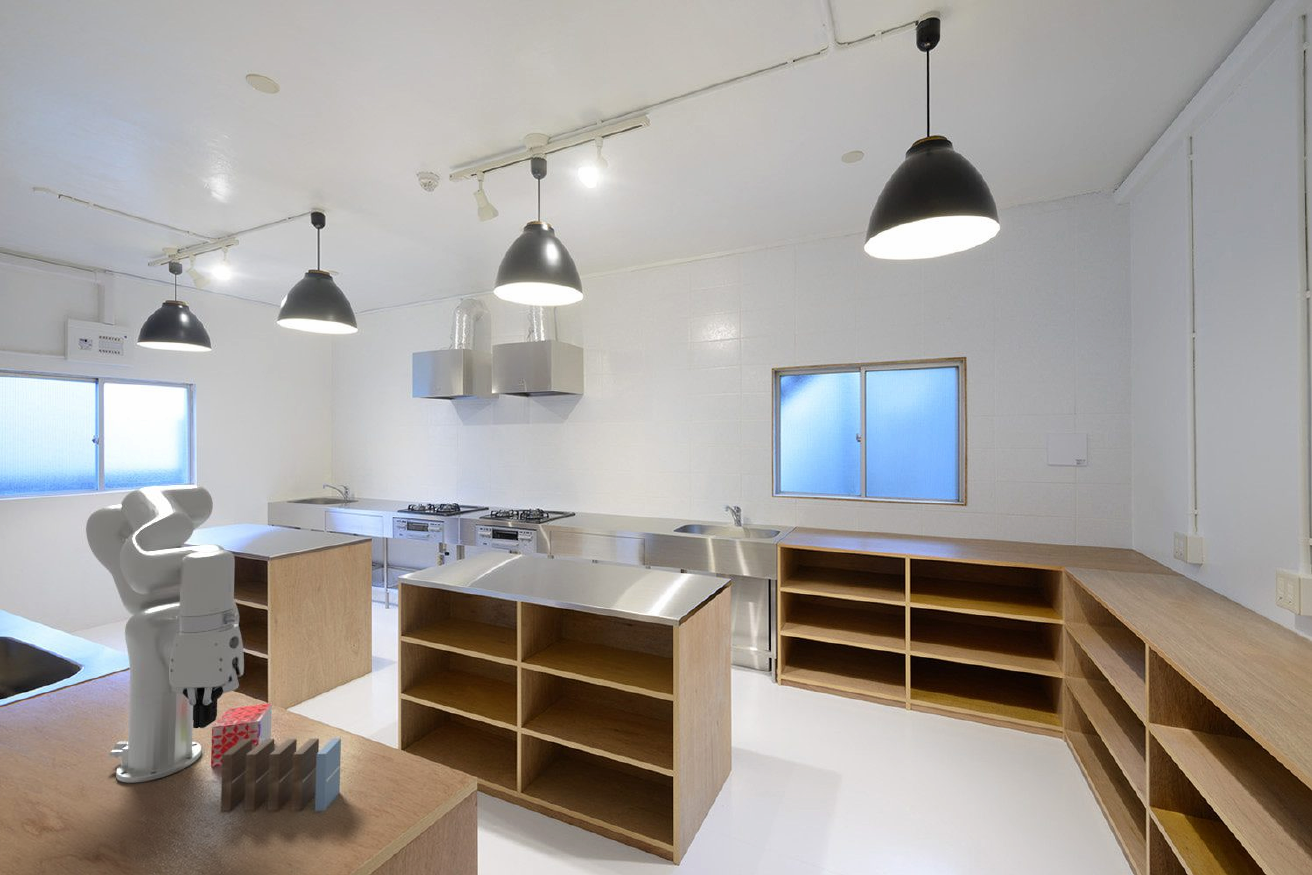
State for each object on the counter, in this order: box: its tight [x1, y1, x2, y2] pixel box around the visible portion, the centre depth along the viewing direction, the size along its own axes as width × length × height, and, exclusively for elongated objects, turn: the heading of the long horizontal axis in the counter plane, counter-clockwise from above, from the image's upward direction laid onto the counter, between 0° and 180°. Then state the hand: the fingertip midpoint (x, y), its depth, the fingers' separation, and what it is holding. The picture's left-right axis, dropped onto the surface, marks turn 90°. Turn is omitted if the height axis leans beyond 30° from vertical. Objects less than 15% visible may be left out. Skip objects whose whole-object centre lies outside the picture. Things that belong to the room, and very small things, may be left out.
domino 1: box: [220, 739, 252, 813], centre depth 97 cm, size 2×5×10 cm, turn 3°
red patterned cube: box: [210, 702, 273, 768], centre depth 112 cm, size 8×8×8 cm
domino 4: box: [291, 738, 320, 812], centre depth 97 cm, size 2×5×10 cm, turn 3°
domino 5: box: [314, 737, 342, 812], centre depth 98 cm, size 2×5×10 cm, turn 3°
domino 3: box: [267, 738, 298, 813], centre depth 97 cm, size 2×5×10 cm, turn 3°
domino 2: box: [244, 738, 275, 813], centre depth 97 cm, size 2×5×10 cm, turn 3°
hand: (204, 724), depth 96 cm, fingers closed
